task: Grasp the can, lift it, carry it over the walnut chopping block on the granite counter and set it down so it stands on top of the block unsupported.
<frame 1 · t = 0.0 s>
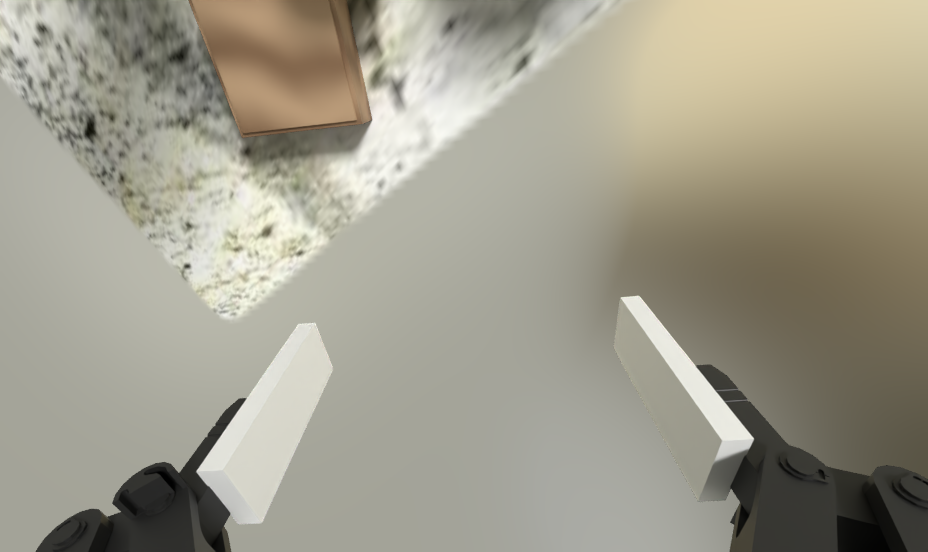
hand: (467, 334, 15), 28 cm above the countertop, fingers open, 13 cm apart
walnut block: (298, 60, 34), on the countertop
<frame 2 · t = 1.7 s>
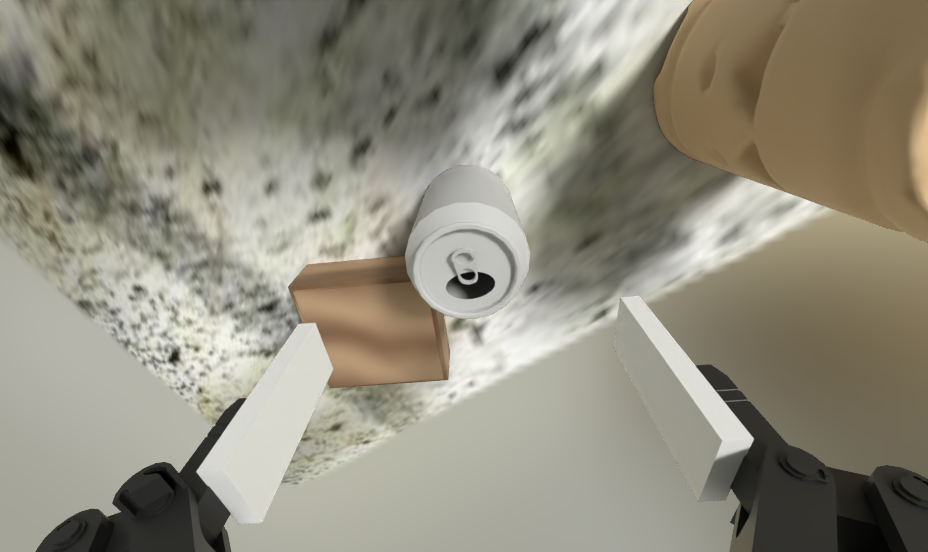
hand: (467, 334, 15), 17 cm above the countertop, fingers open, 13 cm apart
walnut block: (383, 311, 35), on the countertop
container: (741, 70, 25), on the countertop
can: (467, 206, 30), on the countertop
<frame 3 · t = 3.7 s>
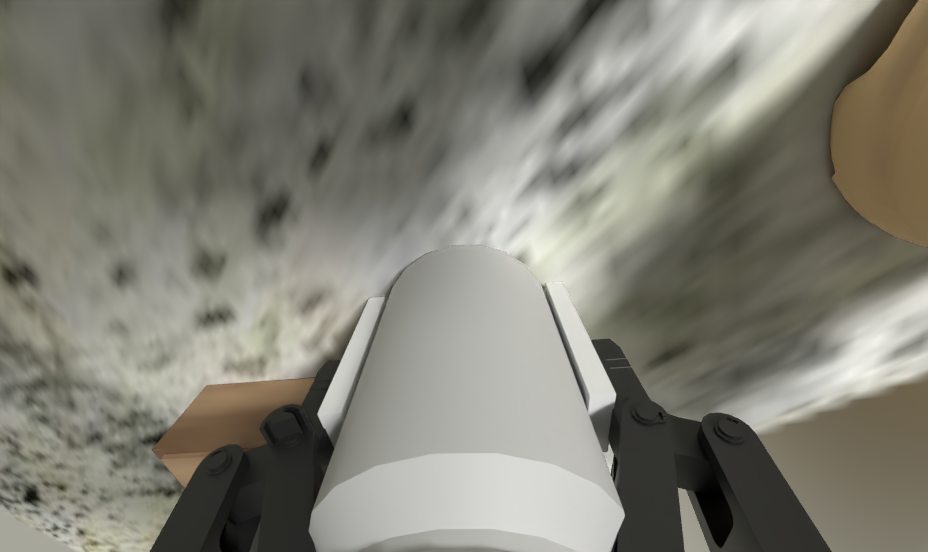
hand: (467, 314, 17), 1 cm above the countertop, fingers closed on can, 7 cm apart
walnut block: (337, 445, 23), on the countertop
can: (467, 303, 17), on the countertop, touching gripper
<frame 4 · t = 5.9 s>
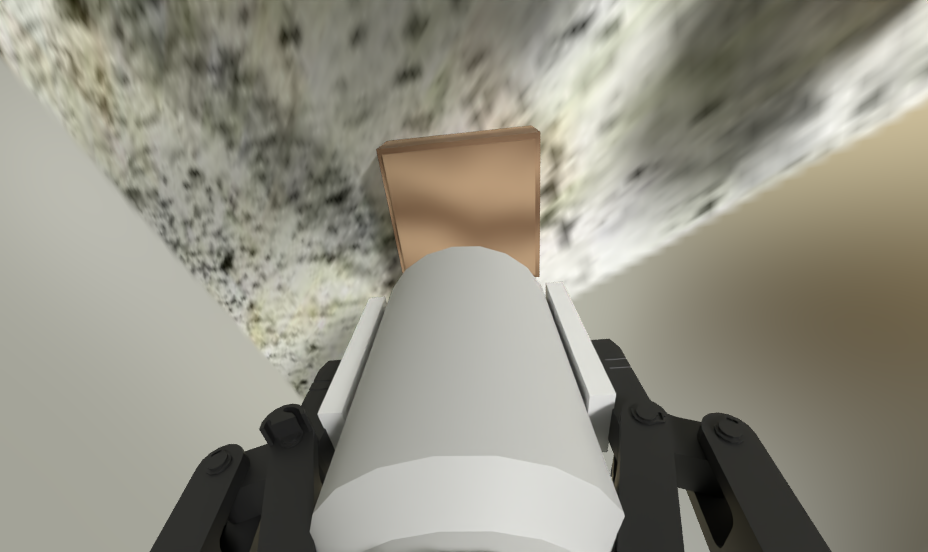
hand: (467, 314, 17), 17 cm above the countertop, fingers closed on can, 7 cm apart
walnut block: (465, 203, 32), on the countertop
can: (467, 304, 17), point 16 cm above the countertop, touching gripper
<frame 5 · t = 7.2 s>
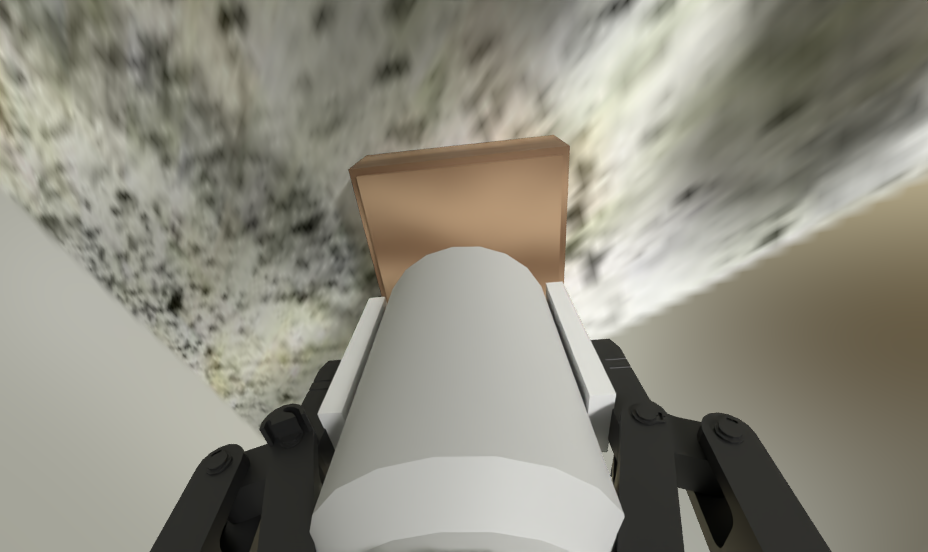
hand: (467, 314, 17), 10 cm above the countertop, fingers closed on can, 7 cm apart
walnut block: (467, 232, 25), on the countertop
can: (467, 305, 17), point 9 cm above the countertop, touching gripper
when the fingers open (6 cm above the countertop, at t = 8.3 s): can drops 1 cm, resting on walnut block.
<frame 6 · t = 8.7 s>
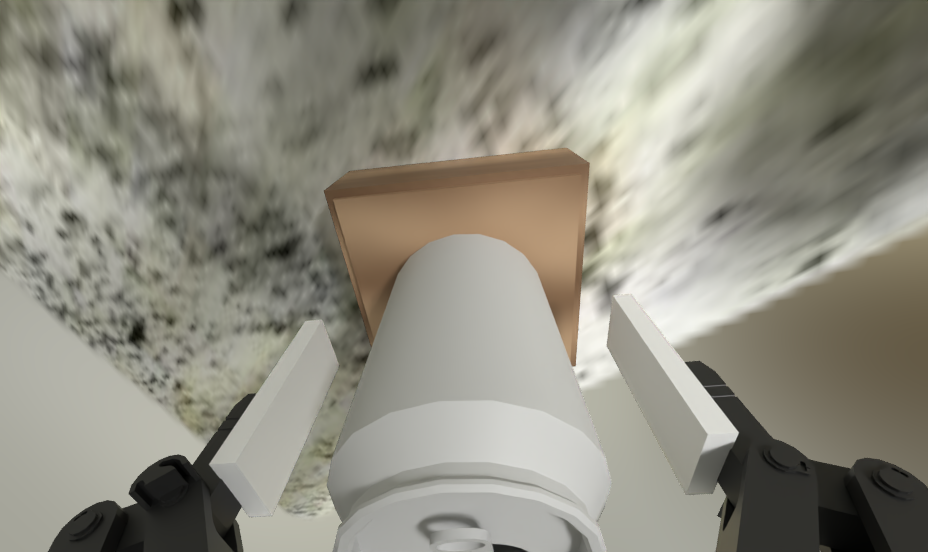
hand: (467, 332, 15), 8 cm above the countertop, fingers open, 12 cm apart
walnut block: (467, 257, 22), on the countertop
can: (467, 291, 18), point 4 cm above the countertop, touching walnut block
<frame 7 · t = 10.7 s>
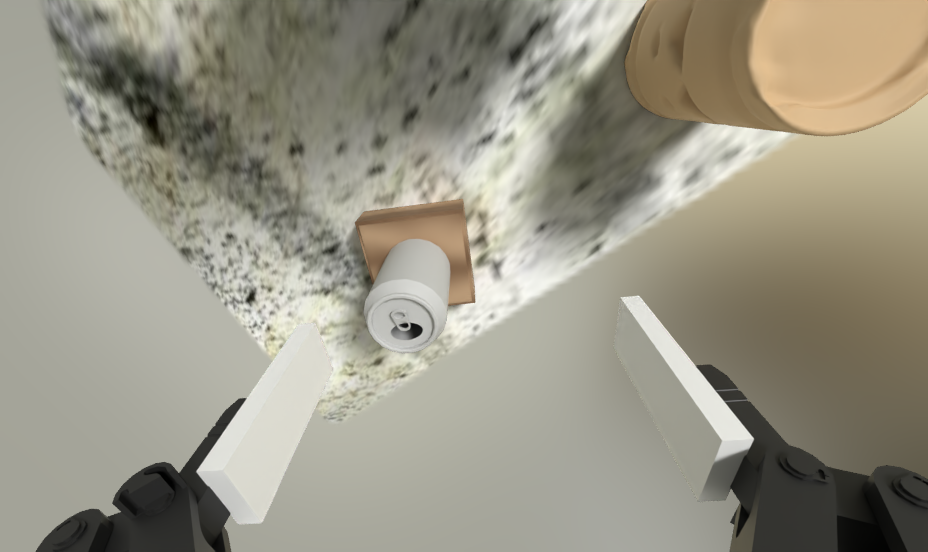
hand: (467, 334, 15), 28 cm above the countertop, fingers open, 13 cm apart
walnut block: (422, 251, 44), on the countertop
container: (687, 48, 34), on the countertop
can: (418, 265, 41), point 4 cm above the countertop, touching walnut block
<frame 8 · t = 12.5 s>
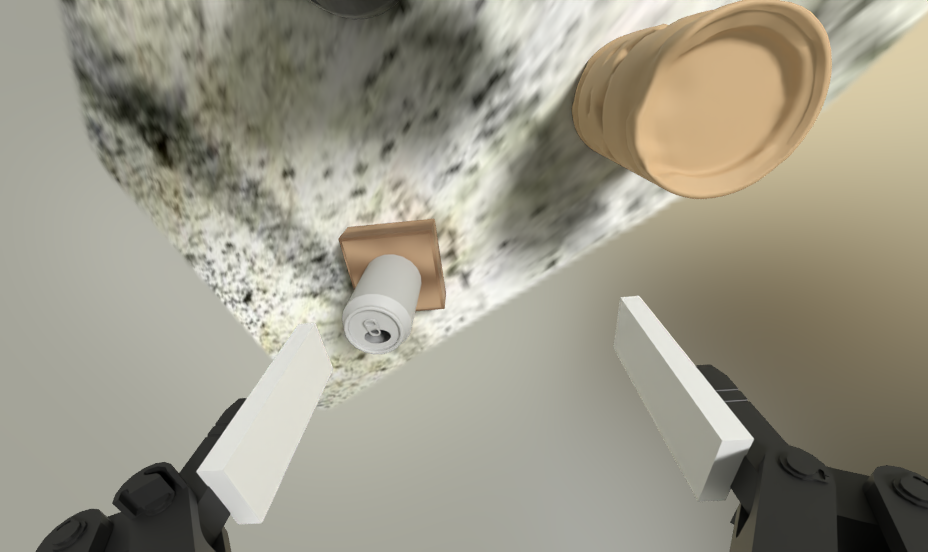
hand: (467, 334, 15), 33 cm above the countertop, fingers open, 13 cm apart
walnut block: (399, 262, 50), on the countertop
container: (625, 98, 40), on the countertop
can: (394, 275, 47), point 4 cm above the countertop, touching walnut block
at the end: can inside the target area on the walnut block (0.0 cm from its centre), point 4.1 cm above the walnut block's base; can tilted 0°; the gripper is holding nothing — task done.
